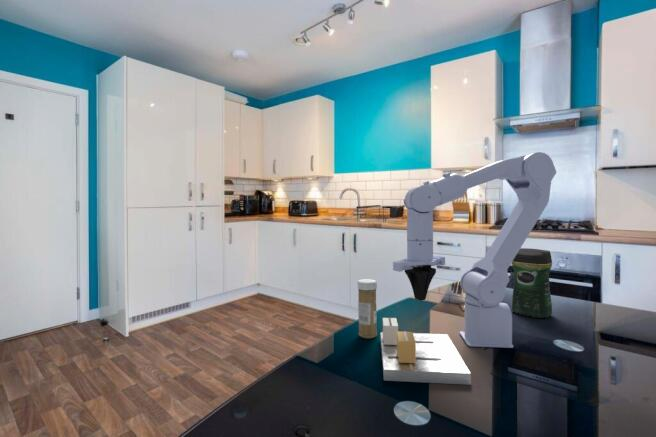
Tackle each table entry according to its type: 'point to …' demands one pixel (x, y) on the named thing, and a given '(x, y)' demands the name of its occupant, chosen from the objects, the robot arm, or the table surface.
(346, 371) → the table surface
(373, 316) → the sprinkles bottle
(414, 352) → the fader knob orange
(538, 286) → the coffee jar
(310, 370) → the table surface
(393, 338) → the fader knob white
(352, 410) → the table surface
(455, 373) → the fader panel
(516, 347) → the table surface
